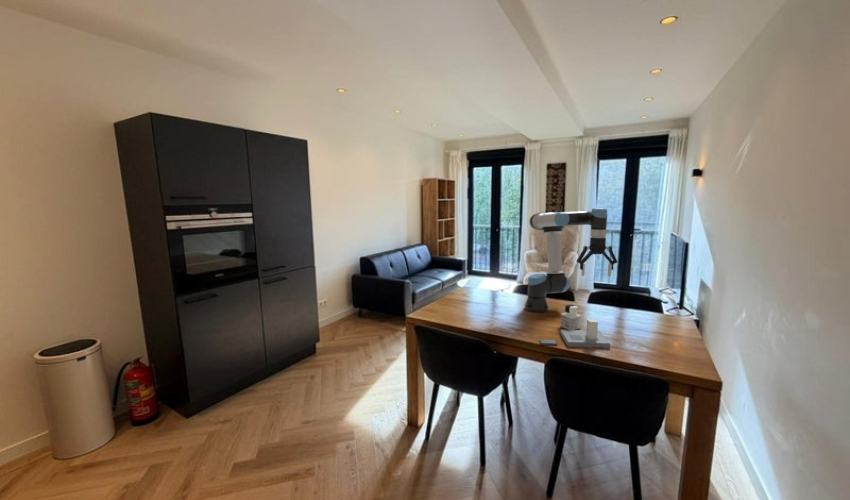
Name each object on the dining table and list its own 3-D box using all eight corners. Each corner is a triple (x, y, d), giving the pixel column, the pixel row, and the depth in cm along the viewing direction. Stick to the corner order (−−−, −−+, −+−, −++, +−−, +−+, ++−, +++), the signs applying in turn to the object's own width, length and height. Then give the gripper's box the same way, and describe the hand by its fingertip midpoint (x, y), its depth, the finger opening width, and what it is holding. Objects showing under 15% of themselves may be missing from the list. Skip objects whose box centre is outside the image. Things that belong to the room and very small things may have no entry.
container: (560, 326, 201) (561, 304, 199) (570, 323, 203) (571, 302, 201) (570, 330, 194) (571, 308, 192) (580, 328, 196) (582, 306, 194)
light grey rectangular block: (585, 340, 180) (587, 319, 178) (594, 341, 179) (595, 319, 177) (588, 344, 176) (589, 321, 174) (596, 344, 175) (597, 322, 174)
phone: (539, 341, 181) (539, 339, 181) (555, 341, 180) (555, 340, 179) (541, 344, 177) (541, 343, 176) (557, 345, 175) (557, 343, 175)
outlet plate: (560, 333, 189) (560, 329, 189) (598, 335, 186) (599, 330, 186) (567, 346, 174) (568, 341, 173) (610, 348, 171) (610, 343, 170)
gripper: (575, 238, 183) (573, 276, 186) (625, 237, 179) (623, 277, 182) (571, 236, 190) (570, 273, 193) (620, 236, 186) (617, 274, 190)
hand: (596, 275), depth 188 cm, fingers open, 13 cm apart
